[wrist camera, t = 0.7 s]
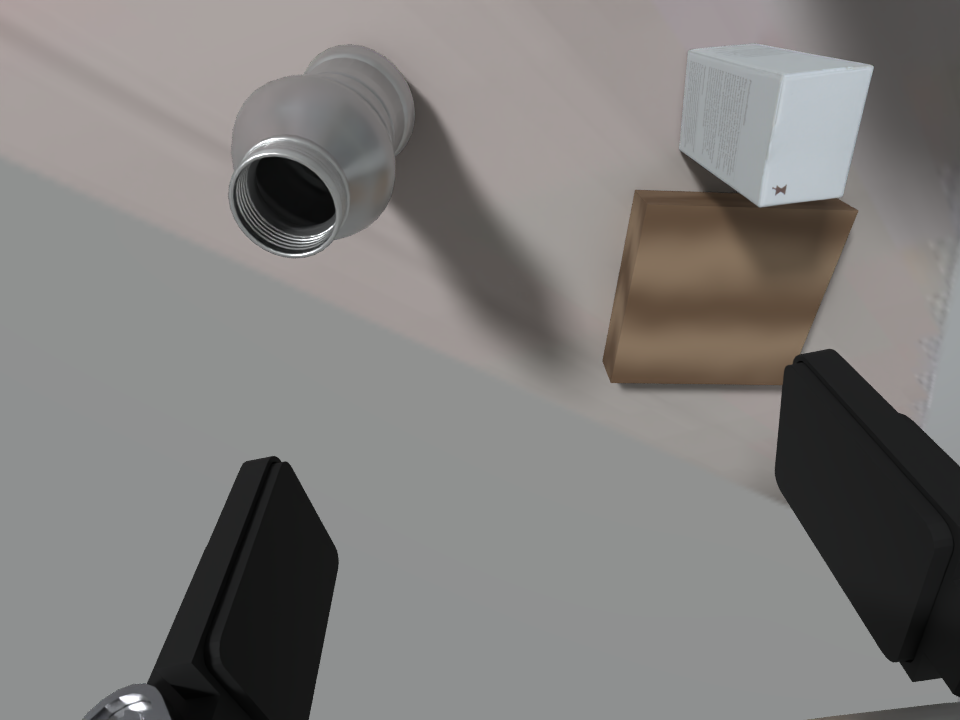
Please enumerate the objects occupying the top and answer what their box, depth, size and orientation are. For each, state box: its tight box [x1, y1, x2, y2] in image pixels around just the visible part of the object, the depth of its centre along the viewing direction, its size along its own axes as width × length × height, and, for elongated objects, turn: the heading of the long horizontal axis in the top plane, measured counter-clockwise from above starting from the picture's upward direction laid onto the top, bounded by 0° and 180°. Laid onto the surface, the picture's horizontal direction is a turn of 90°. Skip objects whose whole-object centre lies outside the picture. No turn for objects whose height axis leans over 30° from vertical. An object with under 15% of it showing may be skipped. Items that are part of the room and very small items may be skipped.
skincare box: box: [679, 43, 874, 208], centre depth 32 cm, size 6×4×12 cm
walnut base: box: [603, 190, 858, 385], centre depth 43 cm, size 14×14×3 cm
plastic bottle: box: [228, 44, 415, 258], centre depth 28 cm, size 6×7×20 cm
